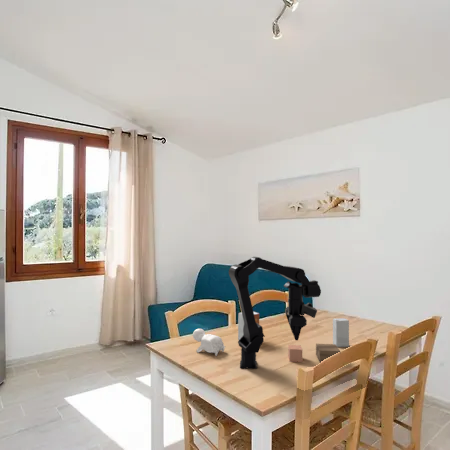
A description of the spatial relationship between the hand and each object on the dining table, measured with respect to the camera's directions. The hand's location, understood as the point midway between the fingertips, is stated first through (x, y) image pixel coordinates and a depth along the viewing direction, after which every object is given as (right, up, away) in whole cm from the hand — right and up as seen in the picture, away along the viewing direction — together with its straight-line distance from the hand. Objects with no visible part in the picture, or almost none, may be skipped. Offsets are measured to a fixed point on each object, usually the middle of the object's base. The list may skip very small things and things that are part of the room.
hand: (295, 336), depth 138 cm
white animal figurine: (-36, -9, +8) cm, 38 cm away
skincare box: (+24, -10, +16) cm, 31 cm away
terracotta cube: (0, -9, 0) cm, 9 cm away
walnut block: (+14, -10, +1) cm, 17 cm away
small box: (-17, -10, +22) cm, 30 cm away
